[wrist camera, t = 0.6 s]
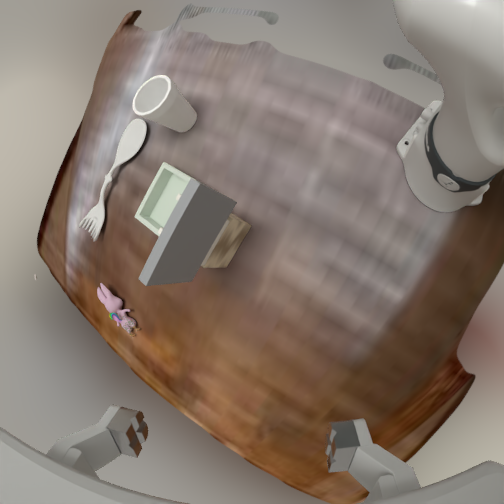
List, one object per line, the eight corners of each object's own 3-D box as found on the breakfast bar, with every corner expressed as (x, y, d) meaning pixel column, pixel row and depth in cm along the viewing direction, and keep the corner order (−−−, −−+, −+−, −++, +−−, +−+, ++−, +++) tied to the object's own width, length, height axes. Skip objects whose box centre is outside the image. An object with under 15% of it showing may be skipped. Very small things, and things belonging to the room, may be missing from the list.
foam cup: (210, 108, 56) (179, 78, 44) (189, 143, 57) (153, 119, 45) (180, 99, 59) (148, 73, 47) (161, 132, 60) (125, 110, 48)
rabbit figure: (148, 322, 61) (109, 275, 62) (133, 330, 55) (93, 279, 57) (135, 337, 62) (98, 292, 64) (121, 346, 56) (82, 296, 58)
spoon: (86, 227, 68) (76, 226, 65) (136, 119, 64) (127, 114, 61) (103, 243, 65) (93, 242, 62) (157, 126, 61) (148, 120, 58)
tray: (174, 167, 58) (163, 161, 54) (218, 193, 54) (209, 188, 51) (146, 219, 60) (134, 216, 56) (186, 250, 56) (175, 249, 52)
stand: (214, 202, 55) (190, 192, 46) (251, 225, 52) (232, 218, 43) (192, 242, 56) (165, 238, 47) (226, 267, 53) (203, 268, 45)
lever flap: (240, 204, 43) (200, 183, 31) (195, 281, 45) (146, 285, 33) (197, 179, 46) (151, 155, 34) (158, 251, 48) (106, 247, 36)
